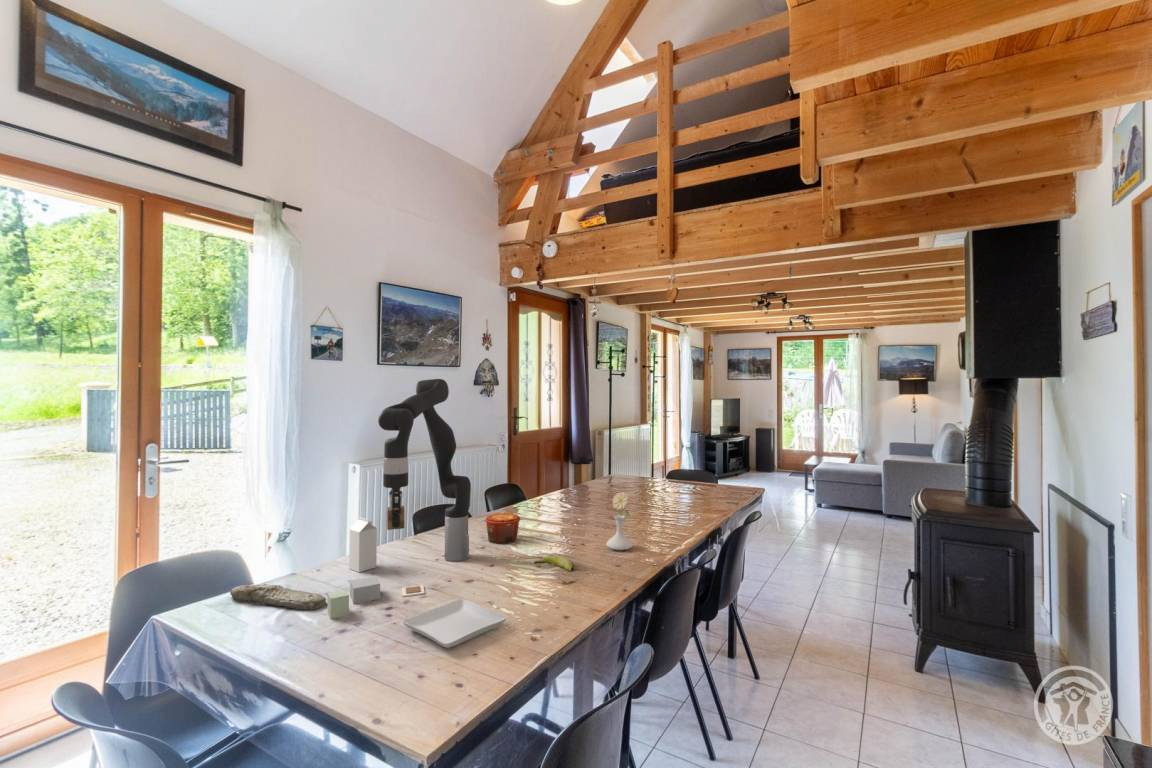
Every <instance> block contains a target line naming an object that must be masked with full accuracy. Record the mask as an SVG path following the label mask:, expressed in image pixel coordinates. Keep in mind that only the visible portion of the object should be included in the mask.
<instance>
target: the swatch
mask: <svg viewBox="0 0 1152 768" xmlns="http://www.w3.org/2000/svg"><path fill="white" fill-rule="evenodd" d="M418 595H425V587H424V584H420V585H413V586H408V587H407V586H406V587H405V586H404V587H401V596H402V598H405V597H411V596H413V597H414V596H418Z"/></svg>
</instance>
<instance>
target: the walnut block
mask: <svg viewBox="0 0 1152 768" xmlns="http://www.w3.org/2000/svg"><path fill="white" fill-rule="evenodd" d="M404 506H405V505H402V507H401V514H400V526H399V527H395V528H393V527H392V515H391V513H392V508H390V506H387V508H386V529H387V531H390V530H391V531H392V530H403V529H405V507H404ZM397 510H399V508H394V511H397Z"/></svg>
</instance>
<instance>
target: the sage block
mask: <svg viewBox="0 0 1152 768" xmlns="http://www.w3.org/2000/svg"><path fill="white" fill-rule="evenodd" d="M349 613H350V593H349V592H348V591H347V589H342V590H338V591H337V590H336V591H332V592H331V591H330V592H328V593H327V615H328V617H329V619H330V620H333V619H336V618H341V617H345V616H349V615H350V614H349Z"/></svg>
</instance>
